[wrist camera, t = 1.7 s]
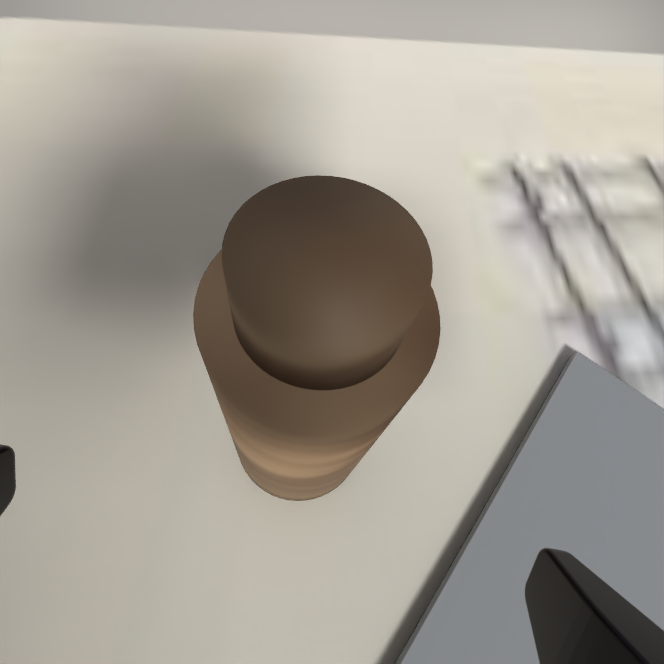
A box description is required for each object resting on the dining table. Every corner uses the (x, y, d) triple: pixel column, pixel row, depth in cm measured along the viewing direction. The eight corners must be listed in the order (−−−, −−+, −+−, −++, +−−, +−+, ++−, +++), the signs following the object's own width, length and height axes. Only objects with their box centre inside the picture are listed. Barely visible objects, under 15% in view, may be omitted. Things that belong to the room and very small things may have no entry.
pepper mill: (307, 530, 18) (359, 469, 6) (209, 443, 19) (104, 258, 7) (384, 427, 20) (525, 247, 9) (292, 355, 21) (309, 111, 10)
